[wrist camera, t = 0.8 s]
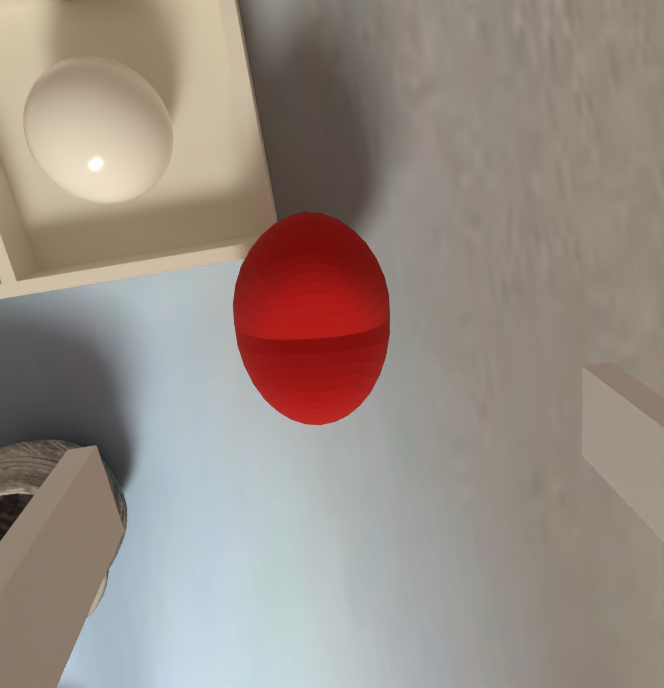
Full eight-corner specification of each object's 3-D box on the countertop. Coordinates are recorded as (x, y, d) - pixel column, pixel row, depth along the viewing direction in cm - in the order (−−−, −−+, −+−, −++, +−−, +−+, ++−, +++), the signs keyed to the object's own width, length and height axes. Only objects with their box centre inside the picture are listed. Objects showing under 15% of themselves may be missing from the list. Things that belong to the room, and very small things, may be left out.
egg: (78, 207, 28) (25, 221, 23) (39, 76, 26) (-29, 57, 21) (196, 187, 28) (173, 198, 23) (166, 56, 26) (134, 32, 21)
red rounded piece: (235, 201, 29) (209, 227, 20) (368, 193, 30) (405, 216, 20) (252, 367, 32) (237, 458, 23) (373, 358, 33) (406, 444, 23)
